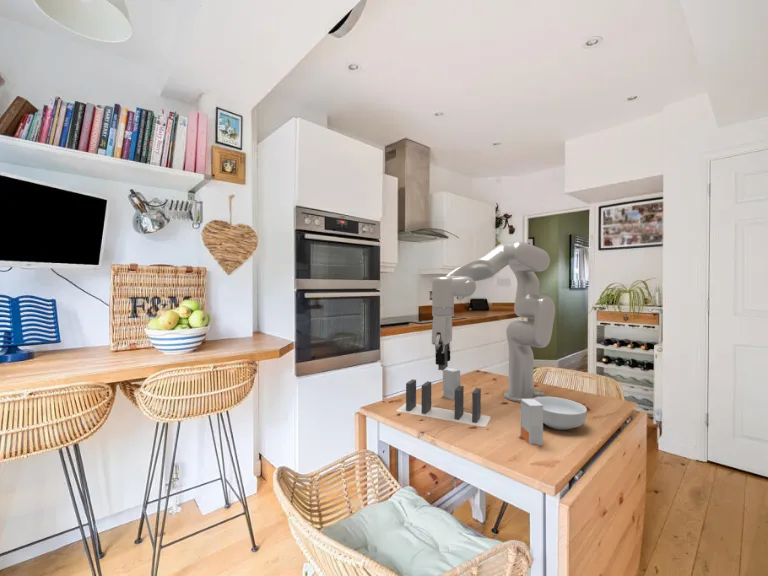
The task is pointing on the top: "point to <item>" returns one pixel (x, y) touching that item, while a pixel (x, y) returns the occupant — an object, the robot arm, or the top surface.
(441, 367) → the domino
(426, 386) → the domino
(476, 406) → the domino
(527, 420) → the skincare box
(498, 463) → the top surface
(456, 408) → the domino
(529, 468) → the top surface
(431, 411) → the board
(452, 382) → the skincare box
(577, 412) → the cereal bowl
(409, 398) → the domino
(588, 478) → the top surface
